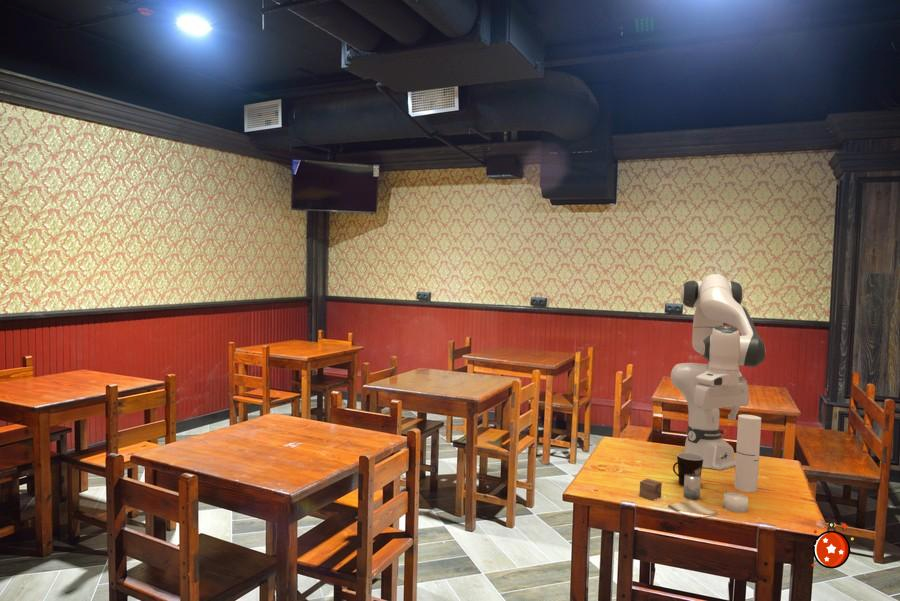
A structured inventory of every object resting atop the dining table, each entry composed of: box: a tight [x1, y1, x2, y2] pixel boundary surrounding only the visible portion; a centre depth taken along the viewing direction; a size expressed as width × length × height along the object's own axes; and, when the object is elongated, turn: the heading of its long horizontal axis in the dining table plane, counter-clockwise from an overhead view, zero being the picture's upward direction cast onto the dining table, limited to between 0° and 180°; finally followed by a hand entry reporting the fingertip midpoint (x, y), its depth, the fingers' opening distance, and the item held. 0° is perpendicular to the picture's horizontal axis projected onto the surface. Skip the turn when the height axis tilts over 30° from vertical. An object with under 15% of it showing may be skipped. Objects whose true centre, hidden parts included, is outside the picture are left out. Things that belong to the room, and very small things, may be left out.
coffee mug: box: [672, 452, 704, 487], centre depth 211 cm, size 12×9×10 cm
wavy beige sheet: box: [667, 500, 718, 516], centre depth 187 cm, size 10×10×1 cm
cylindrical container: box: [733, 414, 762, 493], centre depth 209 cm, size 7×7×25 cm
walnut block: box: [638, 478, 663, 501], centre depth 198 cm, size 5×5×5 cm
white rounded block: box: [722, 491, 749, 514], centre depth 191 cm, size 7×7×4 cm
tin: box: [683, 474, 702, 501], centre depth 199 cm, size 5×5×7 cm
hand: (721, 421), depth 191 cm, fingers open, 8 cm apart
